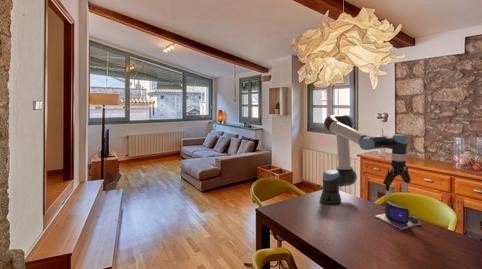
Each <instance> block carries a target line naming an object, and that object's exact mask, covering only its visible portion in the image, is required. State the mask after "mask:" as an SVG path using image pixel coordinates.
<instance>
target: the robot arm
mask: <svg viewBox="0 0 482 269" xmlns="http://www.w3.org/2000/svg"><path fill="white" fill-rule="evenodd" d="M323 126H324V128H325V130H327V131H328V132H330V133H332V134H335V135H336V145H337V146H336V147H337V161H338V162H337V164H338V166H337V167H336V169H326V170H324V171H323V173H322V191H321V195H320V197H319V201H320V203H322V204H324V205H328V206H338V205H341V204H342V197H341V194H340V187H341V188H342V187H346V186H352V185H354V184H355V183H356V182H357V179H358V175H357V172H356V171H355V169H354V167H352V166H351V151H350V141H351V142H353V143H355V144H357V145H359V148H360V149H362V150H363V151H371V150H377V149H389V150H391V162H390V166H391V167H392V168H388V169H387V173H386V175H385V178H384V180H383V182H382V184H383V185H385V195H386V196H388V197H391V195H392V183H393V182H394V180H395V178H396V177H397V176H399V177H400V178H401V179H402V183H401V192H402V193H404V194H407V193H408V185H409V184H410V182H411V176H410V174H409V167H407V166H406V165H407V164H406V163H407V161H406V160H407V150H408V143H409V142H408V136H407V135H406V134H400V133H395V134H393V135H392V136H388V135H379V134H378V135H376V136H370V135H368V134H365V133H363V132H361V131H359V130H356V129H354V128H353V127H354V119H353V118H352V116H350V115H349V114H343V113H342V114H331V115H328V116H327V117H326V118H324V121H323Z"/></svg>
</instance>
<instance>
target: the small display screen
mask: <svg viewBox="0 0 482 269" xmlns="http://www.w3.org/2000/svg"><path fill="white" fill-rule="evenodd" d="M384 205H385V206H384V214H385V215H386V216H387V217H389V218H390V219H392V220H394V221H397V222H400V223H404V224H407V223H408V222H409V216H410V210H409V208H407V207H404V206H402V205H399V204H397V203H395V202H392V201H390V200H385V203H384Z"/></svg>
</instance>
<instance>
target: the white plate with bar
mask: <svg viewBox="0 0 482 269" xmlns="http://www.w3.org/2000/svg"><path fill="white" fill-rule="evenodd" d="M375 218H376V219H378V220H380V221H381V222H384V223H386V224H389V225H390V226H393V227H395V228H397V229H399V230H404V229H405V230H406V229H408V228H409V229H410V228H413V227H416V226H420V225H421V219H420V217H418V216H415V215H409V222H408V223H407V224H404V223H400V222H397V221H394V220H392V219H390V218H389V217H387V216H386V215H385V213H381V214H377V215H375Z"/></svg>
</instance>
